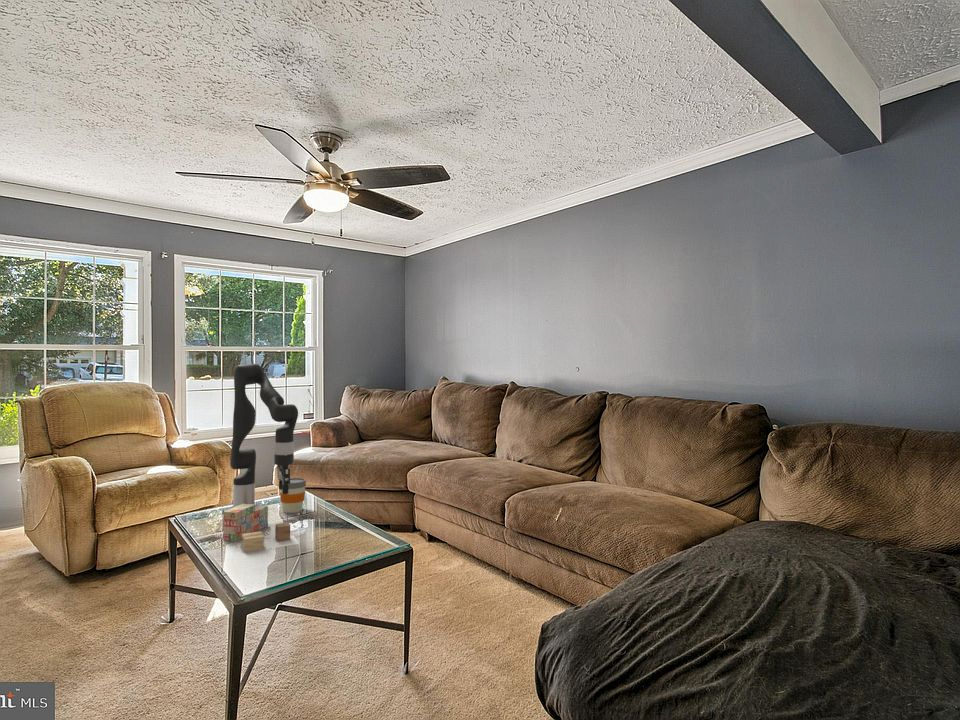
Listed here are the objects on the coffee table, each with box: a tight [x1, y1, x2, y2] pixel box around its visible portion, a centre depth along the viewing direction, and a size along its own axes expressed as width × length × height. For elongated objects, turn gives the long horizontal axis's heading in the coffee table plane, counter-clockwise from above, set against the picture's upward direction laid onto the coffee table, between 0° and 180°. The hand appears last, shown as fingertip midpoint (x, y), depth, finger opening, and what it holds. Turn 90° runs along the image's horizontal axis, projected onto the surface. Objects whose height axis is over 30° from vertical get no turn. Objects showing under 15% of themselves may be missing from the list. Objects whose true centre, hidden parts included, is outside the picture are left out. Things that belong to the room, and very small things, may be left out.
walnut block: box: [274, 521, 291, 542], centre depth 210 cm, size 5×5×6 cm
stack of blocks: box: [222, 504, 269, 542], centre depth 219 cm, size 21×6×12 cm, turn 168°
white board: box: [236, 535, 300, 554], centre depth 205 cm, size 12×22×1 cm, turn 121°
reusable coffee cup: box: [279, 477, 307, 514], centre depth 254 cm, size 13×13×15 cm
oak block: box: [241, 530, 265, 553], centre depth 200 cm, size 7×7×5 cm
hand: (283, 491), depth 211 cm, fingers open, 8 cm apart
